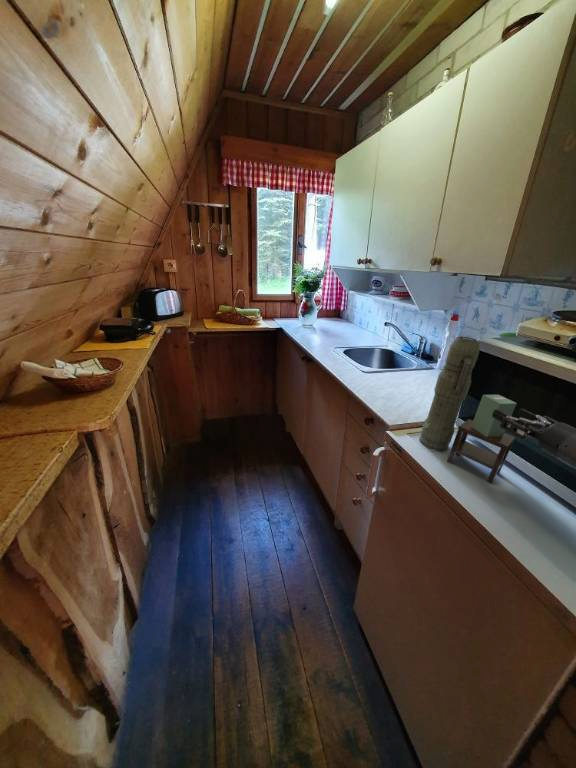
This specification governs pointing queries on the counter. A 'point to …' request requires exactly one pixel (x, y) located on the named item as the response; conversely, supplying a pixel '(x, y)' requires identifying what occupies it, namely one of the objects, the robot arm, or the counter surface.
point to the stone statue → (450, 393)
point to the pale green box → (484, 415)
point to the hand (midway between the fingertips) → (506, 412)
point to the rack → (479, 453)
